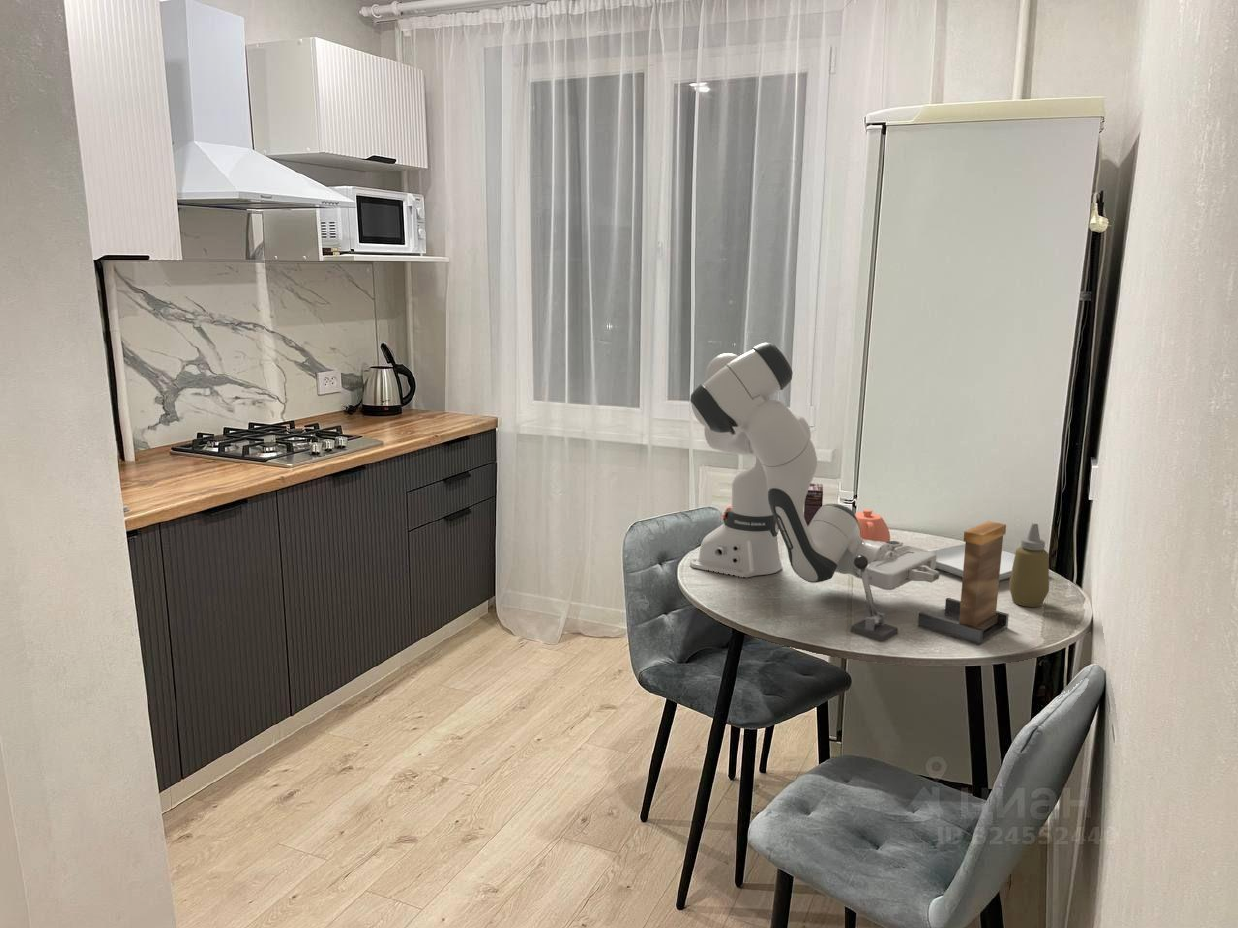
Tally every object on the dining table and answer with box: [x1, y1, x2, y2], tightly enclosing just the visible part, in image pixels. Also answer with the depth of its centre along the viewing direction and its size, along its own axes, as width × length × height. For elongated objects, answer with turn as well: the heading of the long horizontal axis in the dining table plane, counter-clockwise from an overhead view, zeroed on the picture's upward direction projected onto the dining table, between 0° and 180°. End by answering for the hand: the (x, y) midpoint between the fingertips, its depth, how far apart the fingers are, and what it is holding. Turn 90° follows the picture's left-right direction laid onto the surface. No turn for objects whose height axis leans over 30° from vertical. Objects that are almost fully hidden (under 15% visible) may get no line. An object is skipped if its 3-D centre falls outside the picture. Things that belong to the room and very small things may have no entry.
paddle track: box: [917, 597, 1010, 646], centre depth 181 cm, size 13×13×3 cm
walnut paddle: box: [959, 520, 1007, 631], centre depth 177 cm, size 4×11×21 cm, turn 133°
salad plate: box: [929, 543, 1015, 581], centre depth 217 cm, size 21×21×3 cm
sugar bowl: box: [854, 509, 891, 542], centre depth 233 cm, size 12×14×10 cm
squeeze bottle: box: [1008, 523, 1050, 608], centre depth 193 cm, size 8×8×18 cm
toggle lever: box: [854, 555, 883, 627], centre depth 178 cm, size 3×3×14 cm
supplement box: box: [803, 483, 824, 526], centre depth 236 cm, size 9×5×16 cm, turn 168°
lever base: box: [850, 611, 899, 643], centre depth 178 cm, size 7×6×4 cm
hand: (936, 577), depth 185 cm, fingers closed
